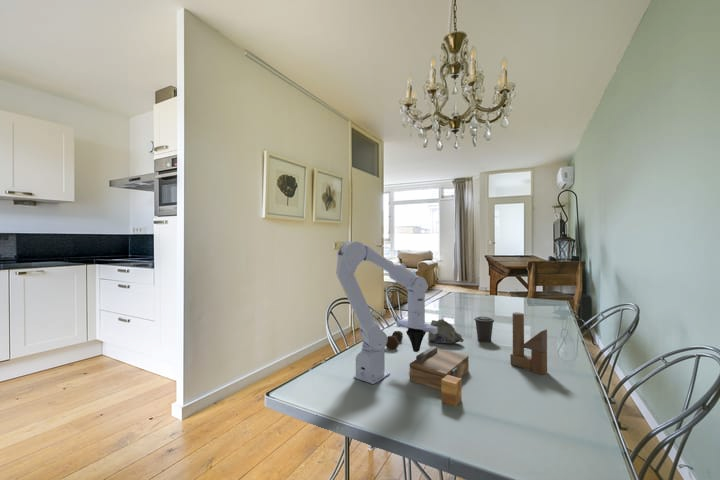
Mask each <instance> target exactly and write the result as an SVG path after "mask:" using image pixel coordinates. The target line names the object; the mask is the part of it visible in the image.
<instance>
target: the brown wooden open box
mask: <svg viewBox="0 0 720 480" xmlns="http://www.w3.org/2000/svg"><path fill="white" fill-rule="evenodd" d="M469 361H470V360H469V359H467V360H466V361H465V362H464V363H463V364H462V365H460V366H459V367H458V377H457V378H461V379H462V378H463V377H464V376H465V375H466V374H468V373H469V368H470V367H469V366H470V365H469V363H470V362H469ZM450 376H452V373H451V374H450ZM443 378H444V377H443V376H440V375H436V374H433V373H429V372H426V371H422V370H419V369H415V368H412V367H410V366H409V381H410V382H412V383H413V382H414V383H416V384H420V385H423V386H426V387H430V388H433V389H435V390H439V391H441V380H442V379H443Z"/></svg>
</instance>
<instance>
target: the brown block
mask: <svg viewBox="0 0 720 480" xmlns="http://www.w3.org/2000/svg"><path fill="white" fill-rule="evenodd" d="M462 380H463V379H462V378H457V377H454V376H450V375H447V376H445V377H444V378H443V379H442V380H441V390H440V391H441V395H440V396H441V397H440V398H441V400H440V401H441V403H443V404H446V405H449V406H453V407H458V405H459V404H460V403H461V402H462V401H463V400H462V398H463V397H462V396H463V395H462V393H463V392H462V387H463V386H462Z"/></svg>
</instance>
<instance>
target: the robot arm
mask: <svg viewBox="0 0 720 480" xmlns="http://www.w3.org/2000/svg"><path fill="white" fill-rule="evenodd" d="M336 254H337V261H336V262H337V263H336V276H337V279H338V280H339V283H340V286H341V287H342V290H343V291H344V294H345V296H346V299H348V303H349V304H350V307H351V309H352V311H353V313H354V315H355V318H356V319H357V321H358V328H359V336H360V338H361V340H362V341H363V343H362V345H361V346H362V347H361V350H360V352H359V353H358V354H356V356H355V374H354V375H353V378H354V379H358V380H360V381H363V382H366V383H369V384H371V385H374V384H376V383H378V382H379V381H381V380H383V379H384V378H386V377H388V376H390V375H391V372H390V371H386V370H385V369H386V368H385V365H386V364H385V363H386V361H385V354H386V353H385V348H386V344H387V340H388V339H387V337H388V335H387V334H386V333H385V331H384V330H382V329H381V328H380V327H381V326H380V325H379V324H378V322H377V321H376V319H375V318H374V316H373V314H372V312H371V309H370V307H369V305H368V303H367V301H366V298H365V296H364V294H363V292H362V289H361V287H360V285H359V283H358V281H357V279H356V276H355V272H356V270H357V268H358V266H359V265H360V263H362V262H363V261H367V262H371V263H372V264H374V265H375V266H377V267H379V268H381V269H382V270H384V271H386V272H388V277H389V278H390V279H392V280H393V281H394V282H396V283H398V284H399V285H401V286H402V287H404V288H405V290H406V291H407V320H402V319H401V320H400V319H399V320H396V327H397V328H405V329H407V330H406V335H407V337H408V339H409V341H410V344H411V346H412V347H411V348H412V350H413V352H414V353H419V352H420V350H421V345H422V342H423V340H424V337H425V335H426V334H427V333H429V332H430V333H432V334H436V333H437V327H435V326H431V325H430V324H428V323H426V317H425V316H426V309H425V308H426V307H425V306H426V305H425V304H426V300H425V299H426V293H427V291H428V289H429V284H428V283H427V280H426V279H425V278H424V277H423V276H420V275H417V272H416V271H413V270H411V269H409V268H407V267H406V266H407V265H406V264H405V263H403V262H402V263H400V262H398V263H396V262H395V263H393V262H391V261H390V260H389V259H387V258H386V257H384V256H383V255H381V253H379V252H378V251H376V250H375V249H374V248H372V247H370V246H368V245H366V244H364V243H362V242H361V241H344V242H342V244H341V246H340V247H339V249H338V251H337V253H336Z"/></svg>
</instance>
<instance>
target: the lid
mask: <svg viewBox="0 0 720 480" xmlns="http://www.w3.org/2000/svg"><path fill="white" fill-rule="evenodd" d="M469 358H470V357H469V355H468V354H464V353H459V352H454V351H450V350H446V349H445V350H444V349H441V348H438V347H437V346H436V345H435V346H434V345H432V346H431V347H429V348H428V349H426V350H425V351H422V352H420V353H419V354H418V355H417V354H416V356H415V360H412V362H410V363H409V368H410V367H412V368H415V369H419V370H422V371H426V372H429V373H433V374H436V375H440V376H443V377H445V376H447V375H450V374H451V373H452V376H454V377H458V367H459V366H460V365H462V364H463V363H464V362H465V361H466V360H467V359H469Z"/></svg>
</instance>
